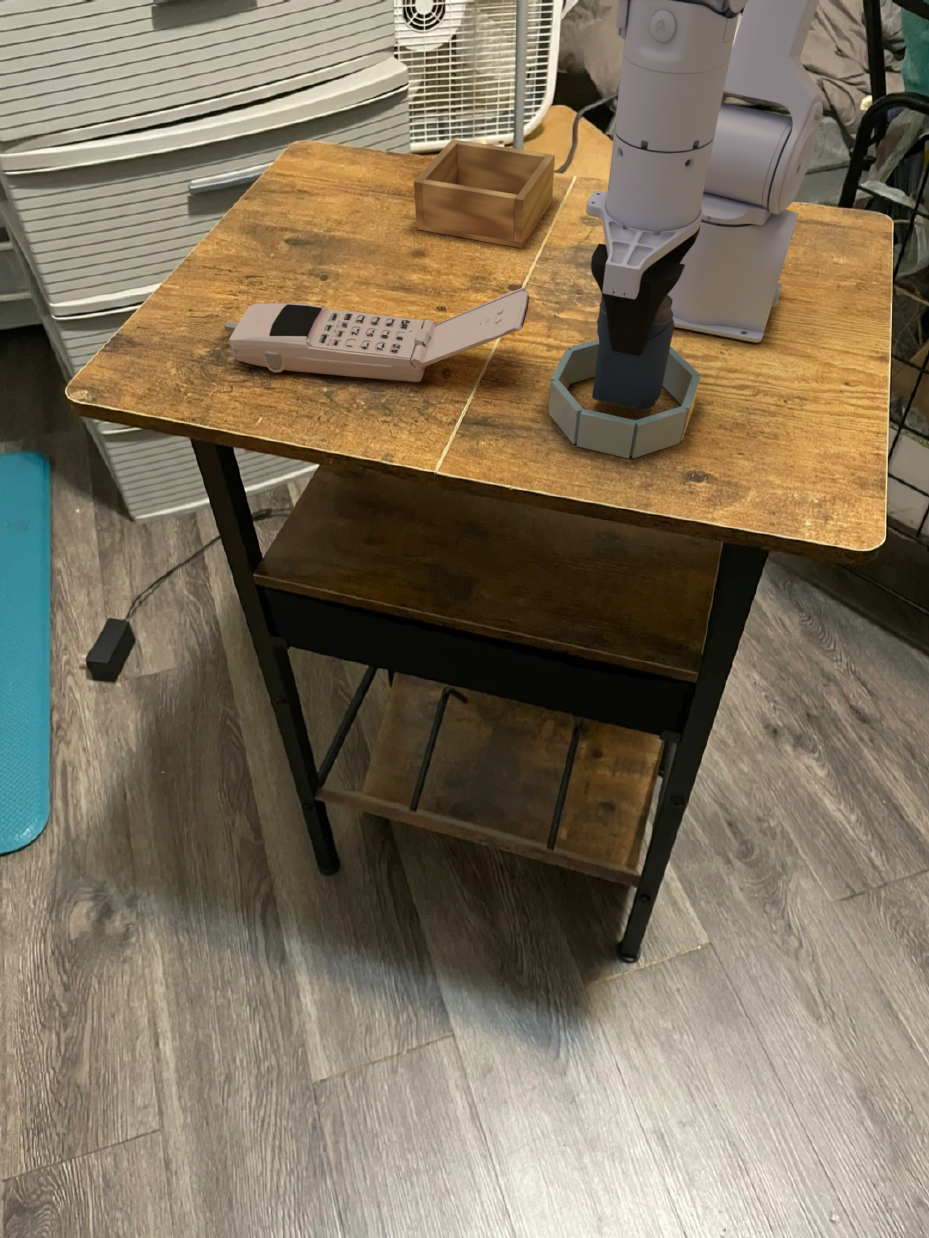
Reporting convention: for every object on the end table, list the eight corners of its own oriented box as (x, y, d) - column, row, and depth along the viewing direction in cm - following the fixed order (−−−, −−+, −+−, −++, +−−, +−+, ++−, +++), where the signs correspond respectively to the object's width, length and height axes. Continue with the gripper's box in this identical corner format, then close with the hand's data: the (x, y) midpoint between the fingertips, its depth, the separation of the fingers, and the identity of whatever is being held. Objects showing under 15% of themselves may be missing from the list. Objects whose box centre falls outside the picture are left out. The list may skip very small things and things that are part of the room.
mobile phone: (522, 330, 62) (189, 300, 64) (518, 399, 66) (207, 368, 69) (532, 286, 65) (216, 260, 68) (528, 354, 70) (232, 327, 73)
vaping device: (594, 379, 65) (613, 224, 56) (662, 394, 64) (694, 238, 55) (584, 399, 64) (602, 244, 55) (654, 415, 63) (685, 258, 53)
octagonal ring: (701, 386, 67) (709, 352, 64) (672, 469, 61) (680, 435, 59) (574, 359, 69) (577, 326, 67) (534, 437, 63) (537, 403, 61)
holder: (552, 202, 86) (555, 154, 82) (521, 248, 80) (523, 199, 77) (453, 185, 88) (451, 139, 85) (416, 229, 83) (413, 181, 79)
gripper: (627, 76, 55) (603, 276, 65) (560, 176, 46) (545, 386, 57) (739, 90, 53) (696, 293, 64) (690, 196, 45) (650, 409, 55)
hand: (632, 338), depth 60 cm, fingers closed on vaping device, 2 cm apart
